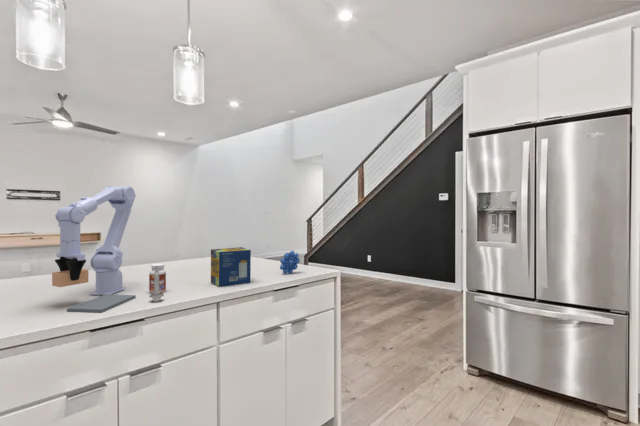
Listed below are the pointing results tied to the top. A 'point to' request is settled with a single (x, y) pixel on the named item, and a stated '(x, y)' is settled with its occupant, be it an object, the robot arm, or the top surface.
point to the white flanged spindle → (156, 287)
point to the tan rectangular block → (68, 278)
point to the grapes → (289, 262)
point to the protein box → (230, 266)
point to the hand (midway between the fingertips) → (70, 279)
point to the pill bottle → (161, 278)
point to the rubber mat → (101, 303)
